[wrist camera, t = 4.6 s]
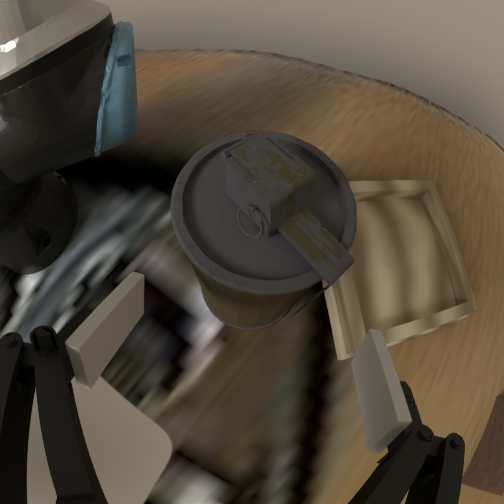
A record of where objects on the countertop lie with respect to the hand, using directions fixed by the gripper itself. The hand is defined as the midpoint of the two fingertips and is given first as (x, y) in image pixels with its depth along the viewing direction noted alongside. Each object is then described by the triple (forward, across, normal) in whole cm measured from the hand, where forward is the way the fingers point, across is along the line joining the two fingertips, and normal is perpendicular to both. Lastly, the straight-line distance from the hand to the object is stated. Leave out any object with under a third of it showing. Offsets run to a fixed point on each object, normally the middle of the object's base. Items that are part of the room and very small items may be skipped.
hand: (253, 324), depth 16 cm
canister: (+15, -1, -6) cm, 16 cm away
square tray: (+20, +16, -1) cm, 25 cm away
